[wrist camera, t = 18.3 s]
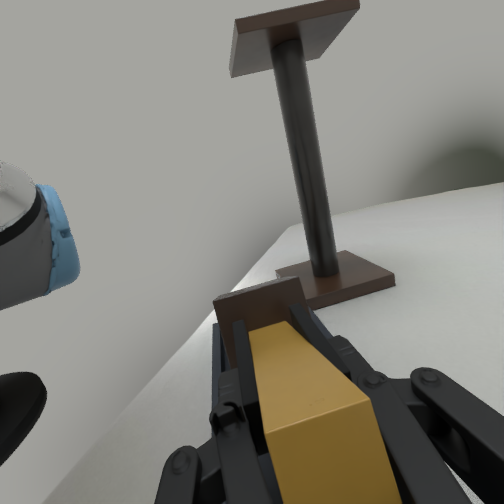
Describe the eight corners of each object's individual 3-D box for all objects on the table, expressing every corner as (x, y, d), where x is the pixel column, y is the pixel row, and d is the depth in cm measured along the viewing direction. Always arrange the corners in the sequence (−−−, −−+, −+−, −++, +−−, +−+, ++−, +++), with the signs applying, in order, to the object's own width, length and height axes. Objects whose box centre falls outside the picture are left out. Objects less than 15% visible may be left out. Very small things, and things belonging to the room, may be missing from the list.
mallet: (475, 488, 7) (402, 270, 7) (219, 583, 6) (160, 342, 7) (302, 334, 26) (285, 276, 26) (234, 355, 25) (218, 295, 26)
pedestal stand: (395, 285, 31) (364, -16, 23) (301, 313, 30) (235, 11, 22) (346, 259, 43) (314, 51, 35) (277, 279, 42) (228, 71, 34)
